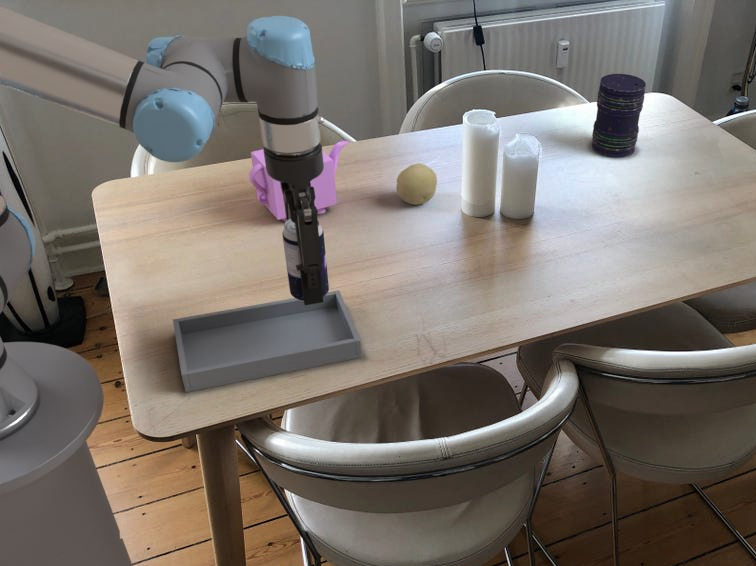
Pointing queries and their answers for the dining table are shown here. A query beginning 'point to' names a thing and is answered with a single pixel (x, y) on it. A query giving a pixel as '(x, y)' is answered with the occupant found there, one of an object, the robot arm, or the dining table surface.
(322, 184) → the teapot
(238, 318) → the tray
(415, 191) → the potato
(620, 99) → the dark blue cylinder
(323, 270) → the beverage can
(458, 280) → the dining table surface
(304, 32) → the robot arm
